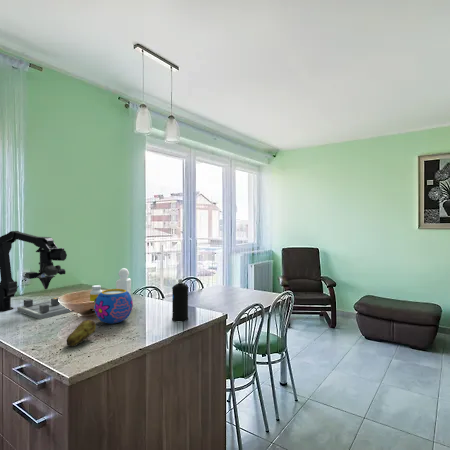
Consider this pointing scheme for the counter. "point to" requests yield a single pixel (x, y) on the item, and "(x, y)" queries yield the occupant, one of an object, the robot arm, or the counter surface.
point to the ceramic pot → (113, 305)
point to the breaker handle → (54, 301)
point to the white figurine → (124, 280)
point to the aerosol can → (180, 301)
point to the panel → (44, 315)
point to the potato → (81, 332)
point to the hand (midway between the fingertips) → (46, 289)
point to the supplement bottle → (95, 292)
